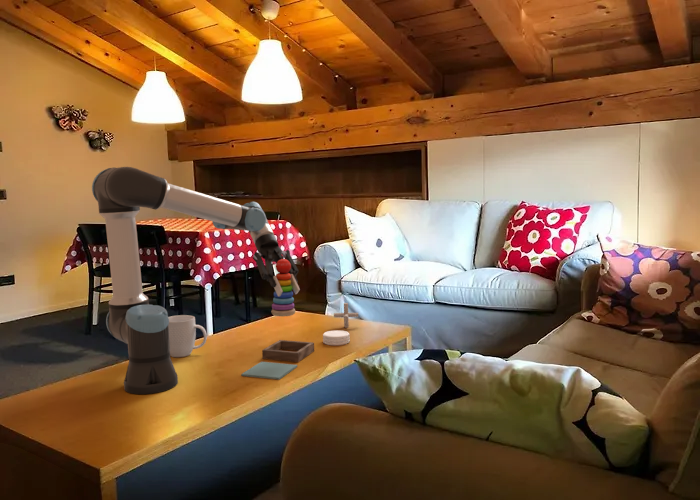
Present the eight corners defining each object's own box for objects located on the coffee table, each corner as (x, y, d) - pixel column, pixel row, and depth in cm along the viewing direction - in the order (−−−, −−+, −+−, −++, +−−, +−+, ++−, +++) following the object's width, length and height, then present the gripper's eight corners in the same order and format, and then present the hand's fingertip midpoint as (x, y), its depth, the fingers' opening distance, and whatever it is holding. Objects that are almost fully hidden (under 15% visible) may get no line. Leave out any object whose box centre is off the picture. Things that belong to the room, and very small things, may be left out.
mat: (279, 379, 176) (279, 377, 176) (241, 375, 180) (241, 373, 180) (297, 366, 188) (297, 364, 188) (261, 363, 192) (261, 361, 192)
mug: (210, 349, 210) (209, 314, 209) (204, 358, 199) (202, 321, 198) (169, 350, 210) (167, 315, 208) (160, 359, 199) (158, 322, 197)
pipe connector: (358, 330, 234) (358, 305, 233) (333, 330, 234) (333, 305, 233) (358, 324, 244) (358, 300, 243) (334, 324, 244) (334, 301, 243)
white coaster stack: (333, 337, 224) (333, 328, 224) (354, 341, 218) (354, 331, 218) (317, 343, 216) (317, 334, 215) (339, 347, 210) (339, 338, 210)
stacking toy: (294, 317, 191) (293, 260, 189) (270, 317, 191) (268, 260, 189) (296, 311, 199) (295, 257, 197) (273, 311, 199) (271, 257, 197)
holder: (298, 361, 193) (298, 353, 193) (262, 358, 198) (262, 350, 197) (314, 350, 206) (314, 342, 205) (280, 348, 210) (279, 339, 210)
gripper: (284, 245, 211) (309, 296, 199) (236, 248, 200) (259, 302, 188) (291, 231, 206) (317, 283, 195) (243, 233, 195) (267, 289, 183)
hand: (289, 292), depth 191 cm, fingers closed on stacking toy, 6 cm apart
